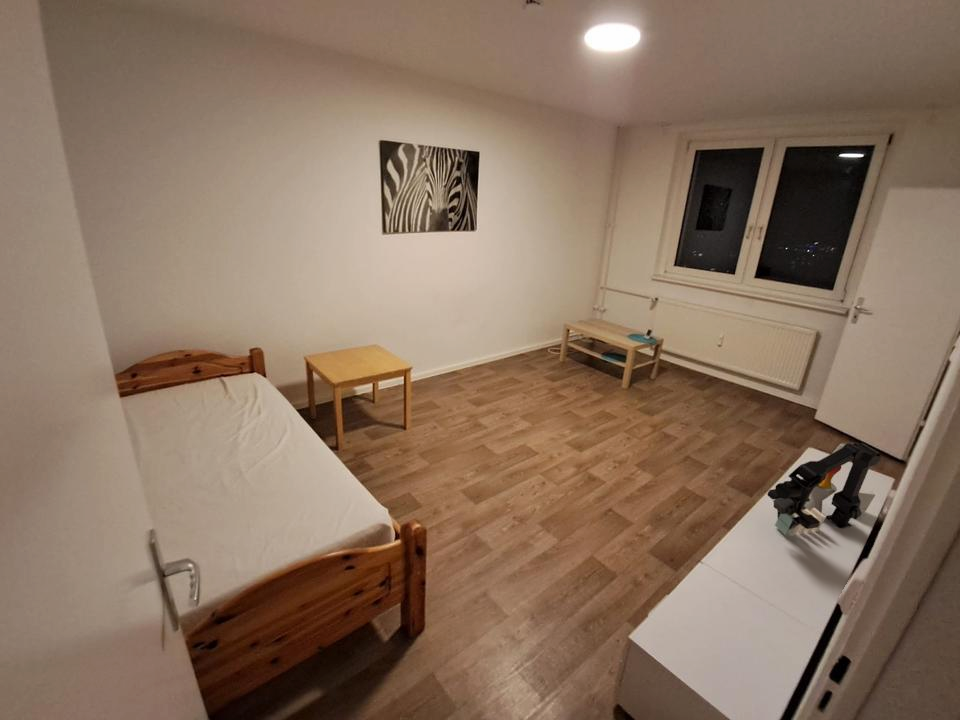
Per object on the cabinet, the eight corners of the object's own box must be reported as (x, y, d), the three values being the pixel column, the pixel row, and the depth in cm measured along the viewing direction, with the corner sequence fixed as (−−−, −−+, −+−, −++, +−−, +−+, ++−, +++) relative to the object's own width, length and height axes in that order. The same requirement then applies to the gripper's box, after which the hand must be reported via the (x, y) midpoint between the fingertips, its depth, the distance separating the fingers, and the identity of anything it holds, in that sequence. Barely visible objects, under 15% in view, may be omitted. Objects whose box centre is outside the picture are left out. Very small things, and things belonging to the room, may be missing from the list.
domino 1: (784, 534, 174) (792, 519, 170) (774, 525, 178) (782, 510, 175) (788, 534, 174) (796, 519, 171) (777, 524, 179) (785, 510, 175)
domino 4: (799, 523, 182) (807, 508, 179) (810, 532, 178) (818, 518, 174) (796, 523, 182) (804, 509, 178) (807, 533, 177) (815, 518, 174)
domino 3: (792, 524, 181) (799, 510, 178) (802, 533, 177) (810, 519, 173) (788, 524, 181) (796, 510, 177) (799, 534, 176) (807, 519, 173)
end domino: (807, 522, 183) (814, 507, 180) (817, 531, 179) (826, 516, 175) (804, 522, 183) (811, 508, 179) (814, 531, 178) (822, 517, 175)
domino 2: (784, 525, 180) (791, 511, 177) (794, 535, 176) (802, 520, 172) (781, 526, 180) (788, 511, 176) (791, 535, 175) (799, 520, 172)
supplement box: (851, 505, 196) (864, 483, 190) (862, 517, 189) (876, 494, 183) (834, 502, 196) (846, 480, 191) (844, 514, 189) (858, 492, 184)
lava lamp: (826, 519, 186) (864, 453, 171) (805, 517, 185) (842, 451, 170) (812, 504, 194) (847, 439, 179) (792, 502, 194) (826, 437, 179)
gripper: (763, 479, 174) (750, 508, 181) (804, 514, 158) (788, 545, 165) (785, 476, 177) (771, 506, 184) (828, 510, 161) (811, 541, 168)
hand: (784, 523), depth 175 cm, fingers closed on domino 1, 5 cm apart
